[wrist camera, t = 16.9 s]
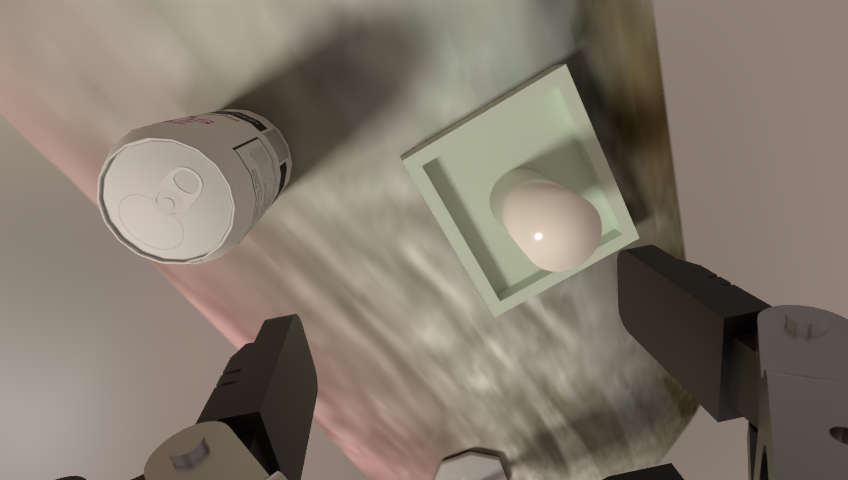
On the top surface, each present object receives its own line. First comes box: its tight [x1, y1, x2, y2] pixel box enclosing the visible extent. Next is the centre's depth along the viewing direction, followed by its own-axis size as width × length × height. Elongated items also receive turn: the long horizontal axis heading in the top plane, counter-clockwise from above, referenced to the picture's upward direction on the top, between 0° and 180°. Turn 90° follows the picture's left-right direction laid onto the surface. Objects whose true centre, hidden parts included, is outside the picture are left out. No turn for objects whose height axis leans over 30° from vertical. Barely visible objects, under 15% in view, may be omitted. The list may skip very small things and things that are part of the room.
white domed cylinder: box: [490, 168, 602, 272], centre depth 37 cm, size 6×6×10 cm
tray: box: [401, 64, 639, 318], centre depth 41 cm, size 17×15×2 cm
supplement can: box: [97, 109, 292, 264], centre depth 32 cm, size 8×8×15 cm
